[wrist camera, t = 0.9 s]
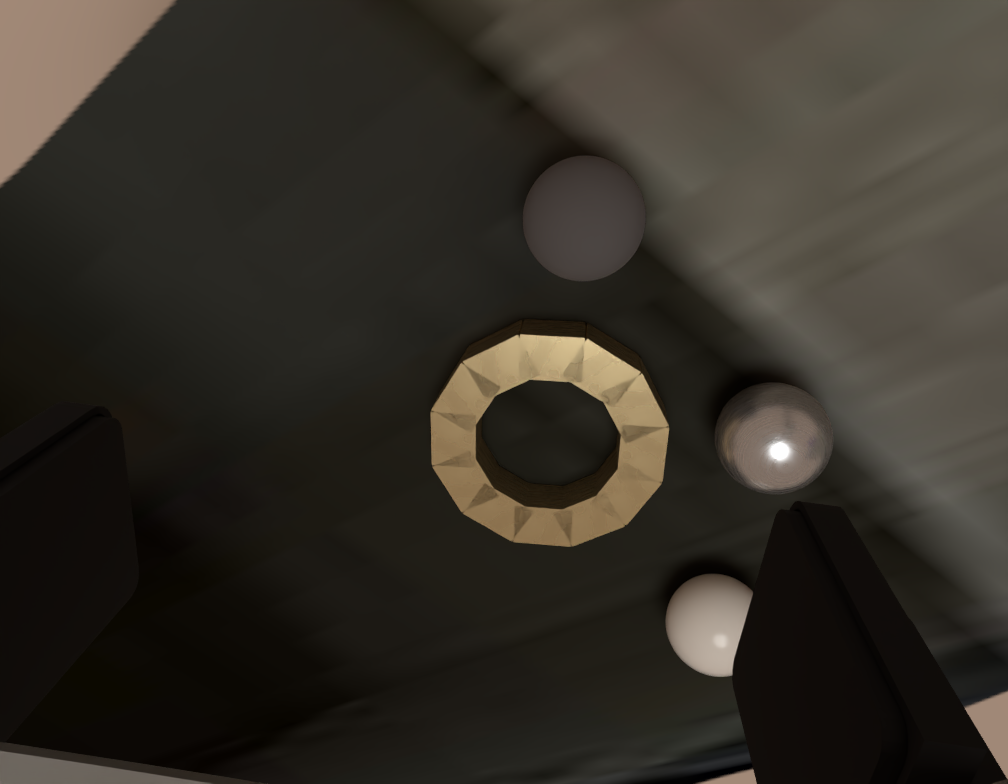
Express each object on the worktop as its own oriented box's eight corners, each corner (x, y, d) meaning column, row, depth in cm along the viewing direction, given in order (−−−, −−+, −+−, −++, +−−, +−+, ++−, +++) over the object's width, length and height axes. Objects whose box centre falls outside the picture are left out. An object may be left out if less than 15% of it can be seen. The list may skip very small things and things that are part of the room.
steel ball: (752, 346, 38) (777, 389, 33) (838, 401, 39) (875, 451, 34) (686, 426, 41) (699, 478, 35) (768, 477, 41) (793, 535, 36)
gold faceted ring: (512, 276, 38) (507, 289, 36) (709, 398, 40) (715, 419, 37) (402, 451, 43) (391, 472, 41) (580, 554, 45) (579, 580, 42)
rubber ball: (567, 125, 35) (563, 136, 30) (665, 190, 36) (677, 211, 31) (506, 226, 37) (492, 251, 32) (599, 285, 38) (600, 319, 33)
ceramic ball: (699, 538, 43) (713, 601, 38) (776, 584, 44) (800, 651, 39) (643, 600, 46) (649, 667, 40) (717, 643, 46) (732, 714, 41)
